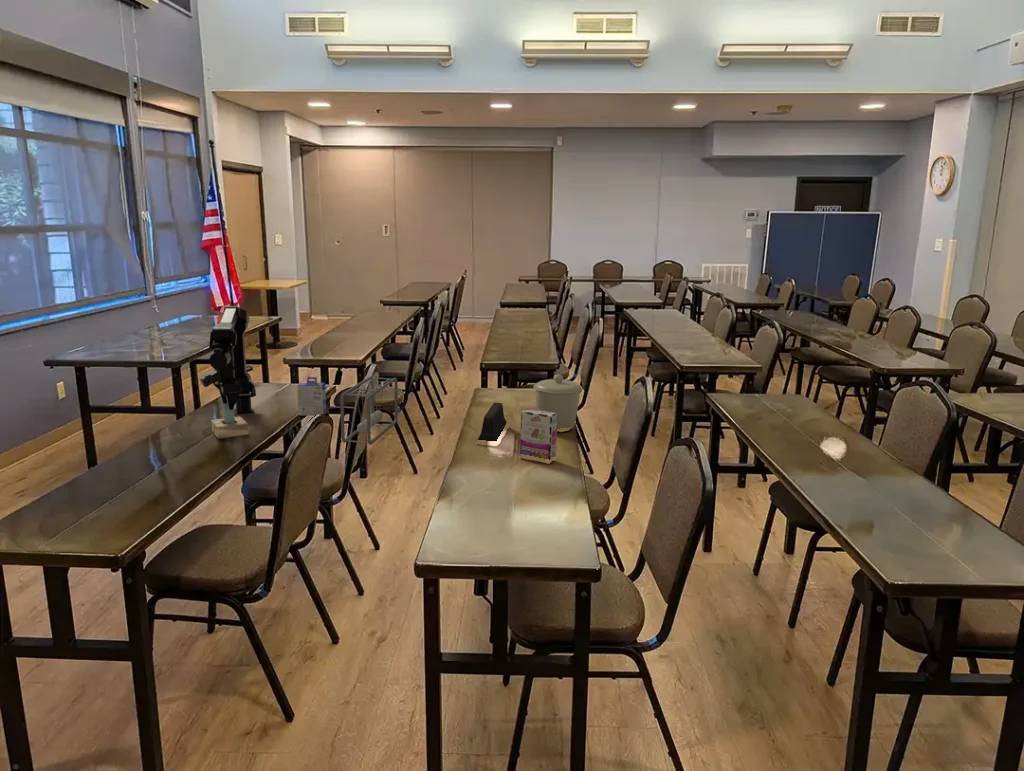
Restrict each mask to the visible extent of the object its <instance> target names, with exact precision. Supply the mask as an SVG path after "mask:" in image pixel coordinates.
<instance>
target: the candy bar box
mask: <svg viewBox="0 0 1024 771" xmlns="http://www.w3.org/2000/svg"><path fill="white" fill-rule="evenodd" d="M557 435H558V433H557V413H553V412H547V411H541V410H537V409H533V408H526V409H524V410H521V411H520V442H519V443H520V445H519V446H520V447H519V455H520V454H524V455H529V456H534V457H539V458H544V459H549V460H550V459H552V458H553V457H555V456H556V457H557Z"/></svg>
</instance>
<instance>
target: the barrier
mask: <svg viewBox="0 0 1024 771" xmlns="http://www.w3.org/2000/svg"><path fill="white" fill-rule="evenodd" d="M506 423H507V424H508V422H507V420H506V418H505V414H504V407H503V403H502V402H493V404H492V405H491V406H490V408H489V409H488V410H487V411H486V414H485V415H484V417H483V420H482V426H481V432H480V435H479V437H478V438H477V440H486V441H497V439H498V437H499V436H500V434H501V432H502V431H503V429H504V427H505V425H506Z"/></svg>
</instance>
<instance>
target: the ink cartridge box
mask: <svg viewBox="0 0 1024 771" xmlns="http://www.w3.org/2000/svg"><path fill="white" fill-rule="evenodd" d="M317 380H318V378H317V376H316V377H315V376H307V380H306V382H300V383H298V385H297V406H298V407H297V408H298V416H311V417H314V416H315V415H317V414H324V415H326V414H327V413H328V412H327V391H326V390H327V389H326V383H325V382H318V381H317ZM315 417H316V416H315Z"/></svg>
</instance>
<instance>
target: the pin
mask: <svg viewBox="0 0 1024 771" xmlns="http://www.w3.org/2000/svg"><path fill="white" fill-rule="evenodd" d="M222 409H223V412H222V413H223V419H224V424H231V423H235V418H234V417H235V411H234V409H235V407H234V408H233V410H229V406H228V403H227V404H223V405H222Z"/></svg>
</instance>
